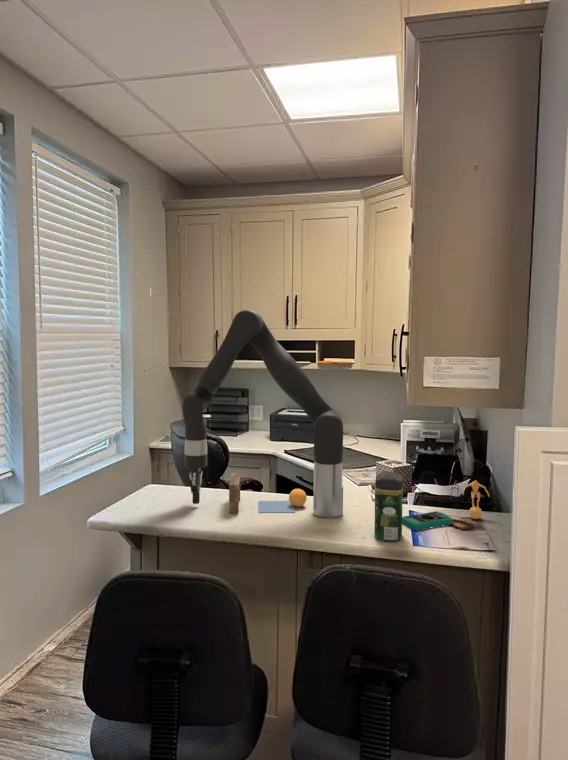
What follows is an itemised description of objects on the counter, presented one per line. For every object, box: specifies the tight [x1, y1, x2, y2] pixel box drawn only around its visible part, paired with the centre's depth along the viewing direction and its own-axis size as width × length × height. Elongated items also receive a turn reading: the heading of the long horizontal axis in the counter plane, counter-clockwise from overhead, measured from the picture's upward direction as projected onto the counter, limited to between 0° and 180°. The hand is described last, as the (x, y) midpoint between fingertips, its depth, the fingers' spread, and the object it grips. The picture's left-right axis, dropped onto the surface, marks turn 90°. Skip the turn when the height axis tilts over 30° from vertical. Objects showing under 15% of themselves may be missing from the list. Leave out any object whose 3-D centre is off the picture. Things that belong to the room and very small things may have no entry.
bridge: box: [228, 472, 241, 515], centre depth 174 cm, size 3×15×10 cm, turn 2°
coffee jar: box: [374, 470, 404, 543], centre depth 149 cm, size 10×8×19 cm
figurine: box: [461, 480, 490, 520], centre depth 166 cm, size 8×6×12 cm
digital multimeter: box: [402, 510, 453, 531], centre depth 160 cm, size 7×15×3 cm, turn 115°
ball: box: [288, 488, 307, 508], centre depth 176 cm, size 6×6×6 cm
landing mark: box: [258, 500, 296, 514], centre depth 175 cm, size 12×12×1 cm
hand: (196, 503), depth 174 cm, fingers closed
